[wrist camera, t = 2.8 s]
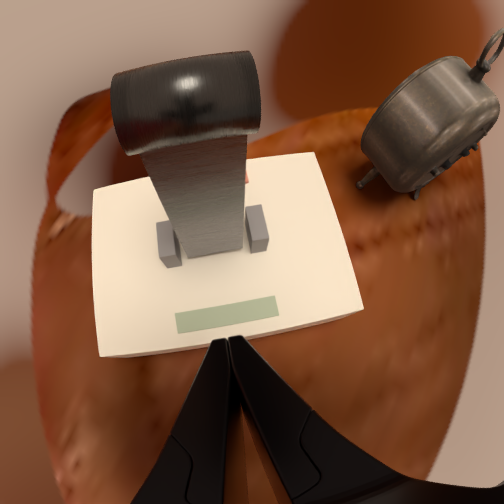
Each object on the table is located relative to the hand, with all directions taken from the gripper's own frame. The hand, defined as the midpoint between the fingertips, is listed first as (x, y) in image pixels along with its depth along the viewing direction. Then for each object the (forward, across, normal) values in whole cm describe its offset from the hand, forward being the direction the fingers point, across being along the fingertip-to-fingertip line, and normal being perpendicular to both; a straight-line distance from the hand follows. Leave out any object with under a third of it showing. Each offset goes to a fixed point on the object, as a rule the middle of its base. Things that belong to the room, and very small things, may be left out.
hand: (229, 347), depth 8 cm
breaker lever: (+8, 0, +1) cm, 8 cm away
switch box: (+11, 0, +3) cm, 12 cm away
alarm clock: (+15, -16, 0) cm, 22 cm away
